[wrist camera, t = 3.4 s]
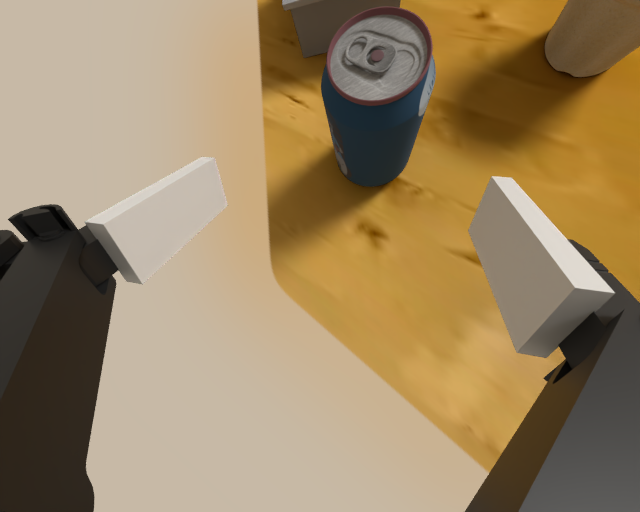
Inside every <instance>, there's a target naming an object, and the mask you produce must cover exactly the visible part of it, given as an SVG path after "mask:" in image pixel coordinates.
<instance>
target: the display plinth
mask: <svg viewBox="0 0 640 512" xmlns="http://www.w3.org/2000/svg"><path fill="white" fill-rule="evenodd" d="M282 5H283V8H284V11H286V10H290V9H291V13H292V17H293V20H294V24H295V28H296V31H297V35H298V39H299V42H300V46H301V50H302V53H303V57H304V58H306V57H310V56H314V55H318V54H323V53H327V52H328V48H329V45H330V43H331V41H332V39H333V37H334V35H335V34H336V33H337V31H338V30H339V29H340V28H341V27H342V25H344V24H345V23H346V22H347V21H348V20H349V19H351V18H352V17H354V16H355V15H357V14H359V13H361V12H363V11H366V10H369V9H372V8H377V7H398V8H400V0H282Z"/></svg>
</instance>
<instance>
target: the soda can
mask: <svg viewBox="0 0 640 512" xmlns="http://www.w3.org/2000/svg"><path fill="white" fill-rule="evenodd" d="M435 74H436V71H435V63H434V59H433V55H432V39H431V35H430V32H429V30H428V28H427V26H426V24H425V23H424V22H423V20H422V19H421V18H420V17H419V16H417V15H416V14H414V13H413V12H410V11H408V10H405V9H402V8H398V7H377V8H372V9H369V10H366V11H363V12H361V13H359V14H357V15H355V16H354V17H352V18H351V19H349V20H348V21H347V22H346V23H345V24H344V25H342V27H341V28H340V29H339V30H338V31H337V33H336V34H335V35H334V37H333V39H332V41H331V43H330V45H329V48H328V52H327V60H326V66H325V68H324V72H323V76H322V82H321V90H322V97H323V101H324V106H325V110H326V114H327V119H328V123H329V128H330V132H331V136H332V141H333V145H334V150H335V154H336V158H337V163H338V166H339V168H340V170H341V172H342V173H343V174H344V176H345V177H346V178H348V179H349V180H350V181H352V182H354V183H356V184H358V185H361V186H368V187H373V186H380V185H383V184H386V183H388V182H390V181H392V180H393V179H395V178H396V177H397V176H398V175H399V174H400V173H401V172H402V171H403V169H404V168H405V166H406V164H407V162H408V159H409V156H410V154H411V151H412V148H413V145H414V142H415V139H416V136H417V133H418V130H419V128H420V125H421V122H422V119H423V116H424V113H425V110H426V107H427V104H428V102H429V99H430V96H431V93H432V90H433V87H434V83H435Z"/></svg>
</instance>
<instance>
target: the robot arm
mask: <svg viewBox="0 0 640 512" xmlns="http://www.w3.org/2000/svg"><path fill="white" fill-rule="evenodd" d="M227 206H228V204H227V201H226V197H225V193H224V190H223V186H222V182H221V179H220V175H219V171H218V168H217V164H216V160H215V158H210V157H201V158H199V159H197V160H195V161H194V162H192V163H190V164H188V165H186V166H185V167H183V168H181V169H179V170H177V171H176V172H174V173H172V174H170V175H168V176H166V177H165V178H163V179H161V180H159V181H157V182H156V183H154V184H152V185H150V186H148V187H147V188H145V189H143V190H141V191H139V192H138V193H136V194H134V195H132V196H131V197H128V198H127V199H125V200H123V201H121V202H119V203H118V204H116V205H114V206H112V207H111V208H109V209H107V210H105V211H103V212H102V213H100V214H98V215H96V216H94V217H92V218H90V219H89V220H87V221H85V223H86V226H84V227H83V228H81V229H79V230H78V229H77V228H76V226H75V225H74V223H73V222H72V221H71V220H70V218H69V217H68V215H67V214H66V213H65V211H64V210H63V209H62V207H61V206H59V205H51V204H50V205H42V206H37V207H33V208H30V209H27V210H24V211H21V212H19V213H17V214H15V215H13V216H12V217H10V218H9V219H8V220H9V221H10V222H11V223H12V224H13V225H14V226H15V227H16V228H17V230H18V231H19V232H20V233H21V234H22V235H23V236H24V237H25V238H26V239H27V240H28V241H27V242H21V241H20V240H19V239H18V237H17V236H16V235H15V234H14V233H13V232H12V231H9V230H0V512H93V511H94V492H93V487H92V484H91V482H90V480H89V478H88V476H87V473H86V458H87V453H88V447H89V441H90V435H91V429H92V423H93V417H94V411H95V406H96V400H97V394H98V388H99V382H100V376H101V371H102V364H103V358H104V353H105V347H106V341H107V335H108V329H109V324H110V317H111V312H112V306H113V300H114V294H115V288H116V280H115V279H114V277H113V276H112V274H114V273H115V272H116V271H117V270H119V271H120V273H121V274H122V276H123V277H124V279H125V280H126V281H127V282H133V283H138V284H143V283H145V282H146V281H147V280H148V279H149V278H150V277H151V276H152V275H153V274H154V273H155V272H157V271H158V270H159V269H160V268H161V267H162V266H163V265H164V264H165V263H166V262H167V261H168V260H169V259H170V258H172V256H174V255H175V254H176V253H177V252H178V251H179V250H180V249H181V248H182V247H184V246H185V245H186V244H187V243H188V242H189V241H190V240H191V239H192V238H193V237H194V236H195V235H196V234H198V233H199V231H201V230H202V229H203V228H204V227H205V226H206V225H207V224H208V223H209V222H210V221H211V220H212V219H214V218H215V217H216V216H217V215H218V214H219V213H220V212H221V211H222V210H223V209H225V208H226V207H227ZM468 231H469V234H470V236H471V239H472V241H473V244H474V247H475V249H476V252H477V254H478V257H479V259H480V262H481V264H482V267H483V269H484V272H485V274H486V277H487V279H488V282H489V284H490V287H491V289H492V292H493V294H494V297H495V299H496V302H497V304H498V307H499V309H500V312H501V315H502V317H503V320H504V322H505V325H506V327H507V330H508V332H509V335H510V337H511V340H512V342H513V345H514V347H515V350H516V352H517V353H522V354H527V355H533V356H538V357H544V358H547V357H548V356H549V355H550V354H551V353H552V352H553V351H554V350H555V349H556V348H557V347H558V346H559V347H560V349H561V351H562V352H563V354H564V356H565V358H566V359H565V360H564V361H563V362H562V363H561V364H560V365H558V366H557V367H556V368H555V369H554V370H552V371H551V372H550V373H549V374H548V375H547V376H545V377H544V378H543V379H545V380H546V381H547V384H546V386H545V387H544V389H543V390H542V392H541V393H540V395H539V396H538V398H537V400H536V401H535V403H534V404H533V406H532V407H531V409H530V411H529V412H528V414H527V415H526V417H525V418H524V420H523V422H522V423H521V425H520V426H519V428H518V429H517V431H516V432H515V434H514V436H513V437H512V439H511V440H510V442H509V443H508V445H507V447H506V448H505V450H504V451H503V453H502V454H501V456H500V458H499V459H498V461H497V462H496V464H495V465H494V467H493V468H492V470H491V472H490V473H489V475H488V476H487V478H486V479H485V481H484V483H483V484H482V486H481V487H480V489H479V490H478V492H477V494H476V495H475V497H474V498H473V500H472V501H471V503H470V505H469V506H468V508H467V509H466V511H465V512H640V303H639V302H638V301H637V300H636V299H635V298H634V297H633V296H632V294H631V293H630V292H629V291H628V290H627V289H626V288H625V287H624V286H623V285H622V284H621V283H620V282H619V281H618V280H617V279H616V278H615V277H614V276H613V275H612V274H611V273H608V269H607V268H606V267H605V266H604V265H603V264H602V263H599V260H598V259H597V258H596V257H595V256H594V255H593V254H592V253H591V252H590V251H589V250H588V249H586V248H585V247H583V246H582V245H580V244H578V243H577V242H575V241H574V240H569V239H566V238H565V237H564V235H563V234H562V233H561V232H560V231H559V230H558V229H557V228H556V227H555V225H554V224H553V223H552V222H551V221H550V220H549V219H548V218H547V217H546V215H545V214H544V213H543V212H542V211H541V210H540V209H539V208H538V207H537V205H536V204H535V203H534V202H533V201H532V200H531V199H530V198H529V196H528V195H527V194H526V193H525V192H524V191H523V190H522V189H521V188H520V186H519V185H518V184H517V183H516V182H515V181H514V180H513V179H512V178H509V177H494V176H491V178H490V181H489V183H488V186H487V188H486V190H485V193H484V195H483V197H482V200H481V202H480V204H479V207H478V209H477V211H476V214H475V216H474V218H473V221H472V223H471V225H470V228H469V230H468Z"/></svg>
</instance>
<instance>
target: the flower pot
mask: <svg viewBox="0 0 640 512" xmlns="http://www.w3.org/2000/svg"><path fill="white" fill-rule="evenodd" d="M639 46H640V0H568V2H567V4H566V5H565V7H564V9H563V10H562V12H561V14H560V16H559V17H558V19H557V21H556V23H555V24H554V26H553V27H552V29H551V30H550V32H549V34H548V37H547V39H546V42H545V55H546V58H547V60H548V62H549V63H550V65H551V66H552V67H553V68H554V69H555V70H557V71H564V72H567V73H569V74H571V75H572V76H574V77H587V76H592V75H596V74H599V73H601V72H603V71H605V70H607V69H609V68H610V67H612V66H613V65H614V64H616V63H617V62H618V61H620V60H621V59H622V58H624V57H625V56H627V55H628V54H629V53H631V52H632V51H634V50H635V49H636V48H638V47H639Z"/></svg>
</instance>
